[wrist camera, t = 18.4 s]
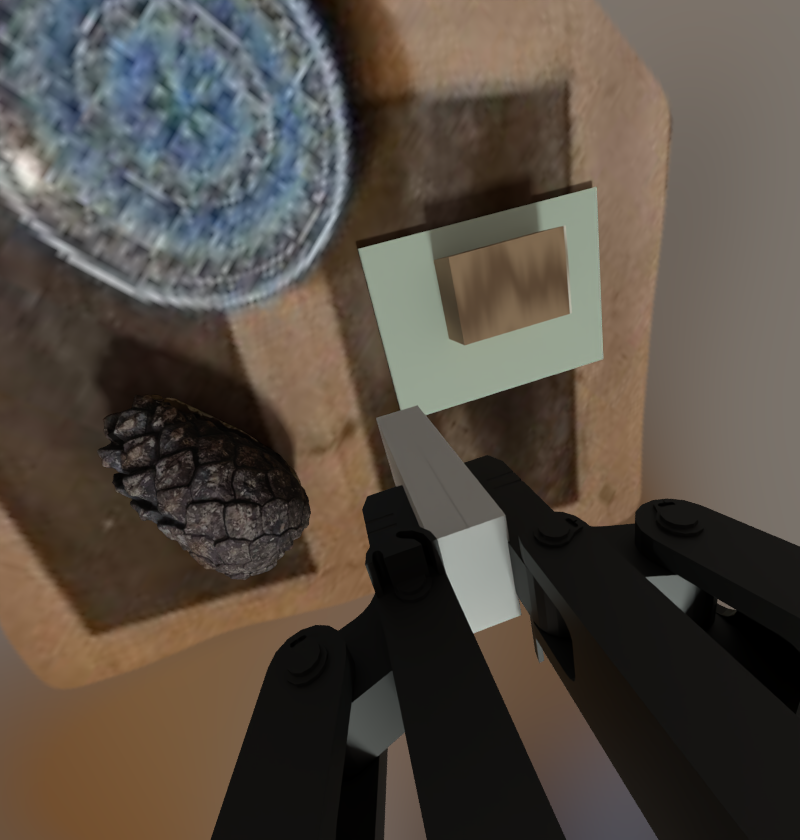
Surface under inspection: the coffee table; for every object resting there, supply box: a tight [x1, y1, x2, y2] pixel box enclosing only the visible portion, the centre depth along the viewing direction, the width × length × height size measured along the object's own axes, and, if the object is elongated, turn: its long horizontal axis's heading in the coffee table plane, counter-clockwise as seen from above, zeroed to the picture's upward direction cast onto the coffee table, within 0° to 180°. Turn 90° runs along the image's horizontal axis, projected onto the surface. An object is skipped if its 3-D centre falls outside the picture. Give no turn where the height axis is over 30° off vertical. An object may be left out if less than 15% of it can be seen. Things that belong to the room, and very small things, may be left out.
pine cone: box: [97, 394, 311, 580], centre depth 31 cm, size 10×18×10 cm, turn 51°
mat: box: [358, 187, 603, 415], centre depth 36 cm, size 16×22×1 cm
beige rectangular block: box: [434, 225, 572, 345], centre depth 33 cm, size 7×4×10 cm
